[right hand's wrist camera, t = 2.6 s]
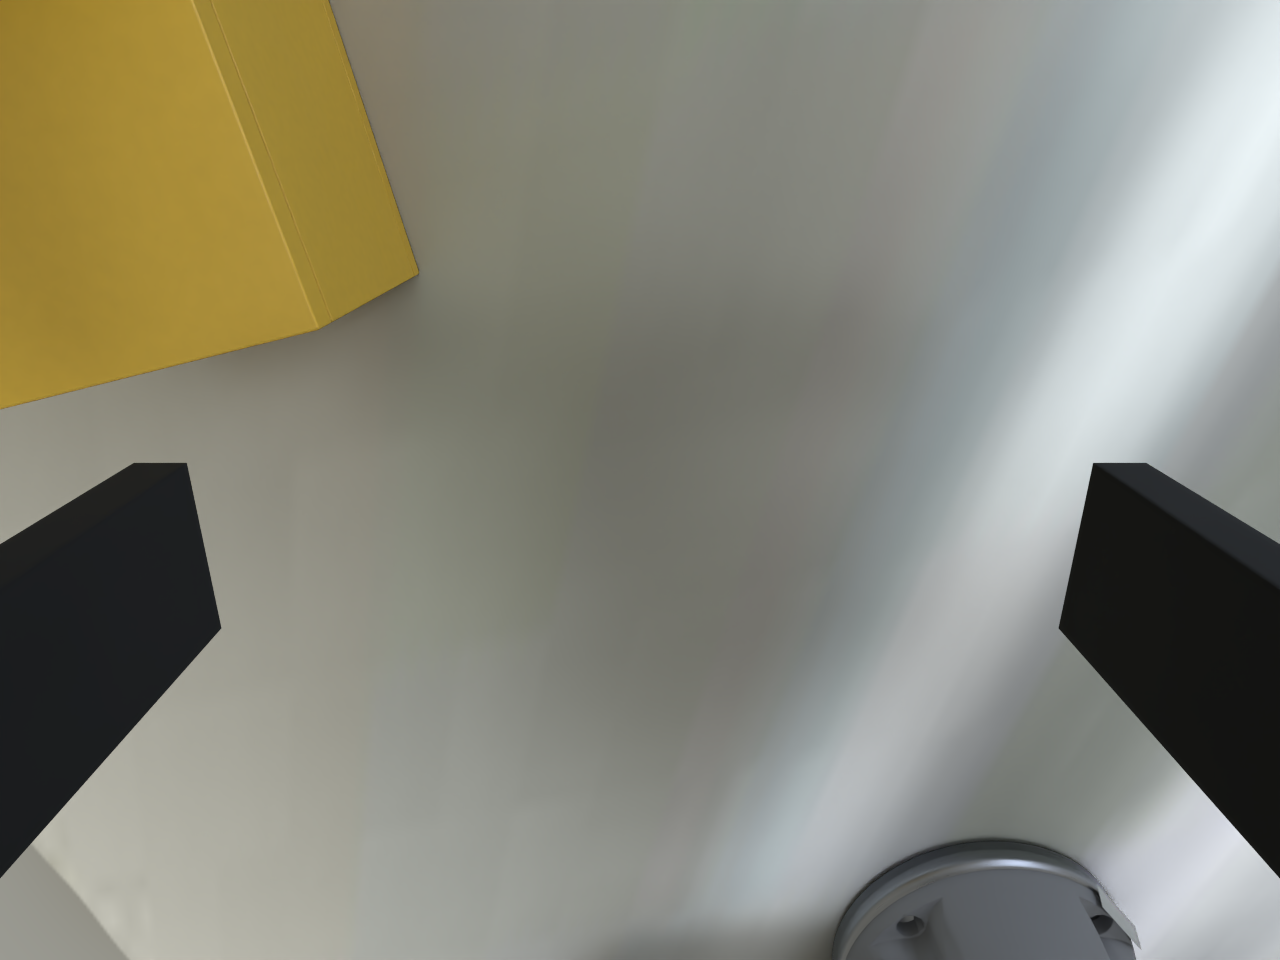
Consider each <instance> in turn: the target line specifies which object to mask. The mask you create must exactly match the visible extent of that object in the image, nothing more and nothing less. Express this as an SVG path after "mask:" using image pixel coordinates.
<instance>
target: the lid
mask: <svg viewBox="0 0 1280 960" xmlns="http://www.w3.org/2000/svg"><path fill="white" fill-rule="evenodd" d="M330 323H331V320H330V317H329V315H328V312H327V309H326V307H325V304H324V301H323V299H322V296H321V293H320V291H319V288H318V286H317V283H316V280H315V278H314V275H313V272H312V270H311V267H310V264H309V262H308V259H307V256H306V254H305V251H304V248H303V246H302V243H301V241H300V238H299V235H298V233H297V230H296V227H295V225H294V222H293V219H292V217H291V214H290V211H289V209H288V206H287V203H286V201H285V198H284V196H283V193H282V190H281V188H280V185H279V182H278V180H277V177H276V174H275V172H274V169H273V166H272V164H271V161H270V159H269V156H268V153H267V151H266V148H265V145H264V143H263V140H262V137H261V135H260V132H259V129H258V127H257V124H256V121H255V119H254V116H253V114H252V111H251V108H250V106H249V103H248V100H247V98H246V95H245V92H244V90H243V87H242V84H241V82H240V79H239V76H238V74H237V71H236V69H235V66H234V63H233V61H232V58H231V55H230V53H229V50H228V47H227V45H226V42H225V39H224V37H223V34H222V32H221V29H220V26H219V24H218V21H217V18H216V16H215V13H214V10H213V8H212V5H211V2H210V0H0V409H4V408H8V407H12V406H16V405H20V404H24V403H28V402H32V401H36V400H40V399H44V398H48V397H52V396H56V395H60V394H64V393H68V392H72V391H76V390H80V389H84V388H88V387H92V386H96V385H100V384H104V383H108V382H112V381H116V380H120V379H124V378H128V377H132V376H136V375H140V374H144V373H148V372H152V371H156V370H160V369H164V368H168V367H172V366H176V365H180V364H184V363H188V362H192V361H196V360H200V359H204V358H208V357H212V356H216V355H220V354H224V353H228V352H232V351H236V350H240V349H244V348H248V347H252V346H256V345H260V344H264V343H268V342H272V341H276V340H280V339H284V338H288V337H292V336H296V335H300V334H304V333H308V332H312V331H316V330H319V329H321V328H322V327H324V326H326V325H328V324H330Z"/></svg>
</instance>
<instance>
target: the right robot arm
mask: <svg viewBox="0 0 1280 960" xmlns="http://www.w3.org/2000/svg"><path fill="white" fill-rule="evenodd" d="M220 629H221V624H220V619H219V615H218V610H217V605H216V600H215V596H214V591H213V586H212V581H211V577H210V572H209V567H208V562H207V557H206V553H205V548H204V543H203V538H202V534H201V529H200V524H199V519H198V515H197V510H196V505H195V500H194V495H193V491H192V486H191V481H190V476H189V472H188V467H187V463H133V464H131V465H130V466H128V467H126V468H125V469H123V470H121V471H120V472H118V473H117V474H115V475H113V476H112V477H110V478H108V479H107V480H105V481H103V482H102V483H100V484H98V485H97V486H95V487H94V488H92V489H90V490H89V491H87V492H85V493H84V494H82V495H80V496H79V497H77V498H75V499H74V500H72V501H71V502H69V503H67V504H66V505H64V506H62V507H61V508H59V509H57V510H56V511H54V512H52V513H51V514H49V515H48V516H46V517H44V518H43V519H41V520H39V521H38V522H36V523H34V524H33V525H31V526H29V527H28V528H26V529H25V530H23V531H21V532H20V533H18V534H16V535H15V536H13V537H11V538H10V539H8V540H6V541H5V542H3V543H2V544H0V878H1V877H2V876H3V874H4V873H5V872H6V871H7V870H8V869H9V868H10V867H11V865H12V864H13V863H14V862H15V861H16V860H17V859H18V858H19V856H20V855H21V854H22V853H23V852H24V851H25V850H26V848H27V847H28V846H29V845H30V844H31V843H32V842H33V841H34V839H35V838H36V837H37V836H38V835H39V834H40V833H41V832H42V830H43V829H44V828H45V827H46V826H47V825H48V824H49V822H50V821H51V820H52V819H53V818H54V817H55V816H56V815H57V813H58V812H59V811H60V810H61V809H62V808H63V807H64V806H65V804H66V803H67V802H68V801H69V800H70V799H71V798H72V796H73V795H74V794H75V793H76V792H77V791H78V790H79V789H80V787H81V786H82V785H83V784H84V783H85V782H86V781H87V780H88V778H89V777H90V776H91V775H92V774H93V773H94V772H95V770H96V769H97V768H98V767H99V766H100V765H101V764H102V763H103V761H104V760H105V759H106V758H107V757H108V756H109V755H110V754H111V752H112V751H113V750H114V749H115V748H116V747H117V746H118V744H119V743H120V742H121V741H122V740H123V739H124V738H125V737H126V735H127V734H128V733H129V732H130V731H131V730H132V729H133V728H134V726H135V725H136V724H137V723H138V722H139V721H140V720H141V718H142V717H143V716H144V715H145V714H146V713H147V712H148V711H149V709H150V708H151V707H152V706H153V705H154V704H155V703H156V702H157V700H158V699H159V698H160V697H161V696H162V695H163V694H164V692H165V691H166V690H167V689H168V688H169V687H170V686H171V685H172V683H173V682H174V681H175V680H176V679H177V678H178V677H179V676H180V674H181V673H182V672H183V671H184V670H185V669H186V668H187V666H188V665H189V664H190V663H191V662H192V661H193V660H194V659H195V657H196V656H197V655H198V654H199V653H200V652H201V651H202V650H203V648H204V647H205V646H206V645H207V644H208V643H209V642H210V640H211V639H212V638H213V637H214V636H215V635H216V634H217V633H218V631H219V630H220ZM1059 629H1060V630H1061V631H1062V633H1063V634H1064V635H1065V636H1066V637H1067V638H1068V639H1069V640H1070V642H1071V643H1072V644H1073V645H1074V646H1075V647H1076V648H1077V650H1078V651H1079V652H1080V653H1081V654H1082V655H1083V656H1084V657H1085V659H1086V660H1087V661H1088V662H1089V663H1090V664H1091V665H1092V666H1093V668H1094V669H1095V670H1096V671H1097V672H1098V673H1099V674H1100V676H1101V677H1102V678H1103V679H1104V680H1105V681H1106V682H1107V683H1108V685H1109V686H1110V687H1111V688H1112V689H1113V690H1114V691H1115V692H1116V694H1117V695H1118V696H1119V697H1120V698H1121V699H1122V700H1123V702H1124V703H1125V704H1126V705H1127V706H1128V707H1129V708H1130V709H1131V711H1132V712H1133V713H1134V714H1135V715H1136V716H1137V717H1138V718H1139V720H1140V721H1141V722H1142V723H1143V724H1144V725H1145V726H1146V728H1147V729H1148V730H1149V731H1150V732H1151V733H1152V734H1153V735H1154V737H1155V738H1156V739H1157V740H1158V741H1159V742H1160V743H1161V744H1162V746H1163V747H1164V748H1165V749H1166V750H1167V751H1168V752H1169V754H1170V755H1171V756H1172V757H1173V758H1174V759H1175V760H1176V761H1177V763H1178V764H1179V765H1180V766H1181V767H1182V768H1183V769H1184V770H1185V772H1186V773H1187V774H1188V775H1189V776H1190V777H1191V778H1192V780H1193V781H1194V782H1195V783H1196V784H1197V785H1198V786H1199V787H1200V789H1201V790H1202V791H1203V792H1204V793H1205V794H1206V795H1207V796H1208V798H1209V799H1210V800H1211V801H1212V802H1213V803H1214V804H1215V806H1216V807H1217V808H1218V809H1219V810H1220V811H1221V812H1222V813H1223V815H1224V816H1225V817H1226V818H1227V819H1228V820H1229V821H1230V822H1231V824H1232V825H1233V826H1234V827H1235V828H1236V829H1237V830H1238V832H1239V833H1240V834H1241V835H1242V836H1243V837H1244V838H1245V839H1246V841H1247V842H1248V843H1249V844H1250V845H1251V846H1252V847H1253V848H1254V850H1255V851H1256V852H1257V853H1258V854H1259V855H1260V856H1261V858H1262V859H1263V860H1264V861H1265V862H1266V863H1267V864H1268V865H1269V867H1270V868H1271V869H1272V870H1273V871H1274V872H1275V873H1276V874H1277V876H1278V877H1279V878H1280V544H1278V543H1277V542H1275V541H1274V540H1272V539H1270V538H1269V537H1267V536H1265V535H1264V534H1262V533H1260V532H1259V531H1257V530H1255V529H1254V528H1252V527H1251V526H1249V525H1247V524H1246V523H1244V522H1242V521H1241V520H1239V519H1237V518H1236V517H1234V516H1232V515H1231V514H1229V513H1228V512H1226V511H1224V510H1223V509H1221V508H1219V507H1218V506H1216V505H1214V504H1213V503H1211V502H1209V501H1208V500H1206V499H1205V498H1203V497H1201V496H1200V495H1198V494H1196V493H1195V492H1193V491H1191V490H1190V489H1188V488H1186V487H1185V486H1183V485H1182V484H1180V483H1178V482H1177V481H1175V480H1173V479H1172V478H1170V477H1168V476H1167V475H1165V474H1163V473H1162V472H1160V471H1158V470H1157V469H1155V468H1154V467H1152V466H1150V465H1149V464H1147V463H1093V467H1092V472H1091V476H1090V481H1089V486H1088V491H1087V495H1086V500H1085V505H1084V510H1083V515H1082V519H1081V524H1080V529H1079V534H1078V538H1077V543H1076V548H1075V553H1074V557H1073V562H1072V567H1071V572H1070V577H1069V581H1068V586H1067V591H1066V596H1065V600H1064V605H1063V610H1062V615H1061V619H1060V624H1059ZM1131 939H1132V940H1133V941H1134V942H1135V944H1136V945H1137V946H1138V947H1139V948H1140V949H1141V947H1140V943H1139V940H1138V936H1137V932H1136V929H1135V926H1134V925H1133V924H1132V923H1131V921H1130V920H1129V919H1128V918H1127V917H1126V916H1125V915H1124V914H1123V913H1122V911H1121V910H1120V909H1119V908H1118V907H1117V906H1116V905H1115V904H1114V902H1113V901H1112V900H1111V899H1110V898H1109V896H1108V895H1107V893H1106V892H1105V890H1104V889H1103V887H1102V886H1101V885H1100V883H1099V882H1098V881H1097V880H1096V879H1095V878H1094V877H1093V875H1092V874H1091V873H1089V872H1088V871H1087V870H1086V869H1084V868H1083V867H1082V866H1081V865H1079V864H1077V863H1076V862H1074V861H1073V860H1071V859H1069V858H1067V857H1065V856H1063V855H1061V854H1059V853H1056V852H1054V851H1051V850H1048V849H1045V848H1041V847H1038V846H1033V845H1028V844H1023V843H1015V842H1000V841H988V842H974V843H965V844H960V845H954V846H949V847H946V848H942V849H938V850H934V851H932V852H929V853H926V854H923V855H920V856H918V857H916V858H913V859H911V860H909V861H907V862H905V863H903V864H901V865H899V866H897V867H895V868H894V869H892V870H891V871H889V872H887V873H886V874H884V875H883V876H881V877H880V878H879V879H878V880H876V881H875V882H874V883H872V884H871V885H870V886H869V887H868V888H867V889H866V890H865V891H863V893H862V894H861V895H860V896H859V897H858V898H857V899H856V900H855V901H854V903H853V904H852V905H851V907H850V908H849V909H848V911H847V912H846V914H845V916H844V917H843V919H842V921H841V923H840V926H839V928H838V930H837V933H836V936H835V940H834V945H833V952H832V960H1136V957H1135V953H1134V949H1133V945H1132V942H1131Z"/></svg>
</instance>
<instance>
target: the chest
mask: <svg viewBox="0 0 1280 960" xmlns="http://www.w3.org/2000/svg"><path fill="white" fill-rule="evenodd" d="M210 2H211V5H212V8H213V10H214V13H215V16H216V18H217V21H218V24H219V26H220V29H221V32H222V34H223V37H224V39H225V42H226V45H227V47H228V50H229V53H230V55H231V58H232V61H233V63H234V66H235V69H236V71H237V74H238V76H239V79H240V82H241V84H242V87H243V90H244V92H245V95H246V98H247V100H248V103H249V106H250V108H251V111H252V114H253V116H254V119H255V121H256V124H257V127H258V129H259V132H260V135H261V137H262V140H263V143H264V145H265V148H266V151H267V153H268V156H269V159H270V161H271V164H272V166H273V169H274V172H275V174H276V177H277V180H278V182H279V185H280V188H281V190H282V193H283V196H284V198H285V201H286V203H287V206H288V209H289V211H290V214H291V217H292V219H293V222H294V225H295V227H296V230H297V233H298V235H299V238H300V241H301V243H302V246H303V248H304V251H305V254H306V256H307V259H308V262H309V264H310V267H311V270H312V272H313V275H314V278H315V280H316V283H317V286H318V288H319V291H320V293H321V296H322V299H323V301H324V304H325V307H326V309H327V312H328V315H329V317H330V320H331V322H333V321H335V320H337V319H339V318H340V317H342V316H344V315H346V314H348V313H349V312H351V311H353V310H355V309H357V308H358V307H360V306H362V305H364V304H366V303H367V302H369V301H371V300H373V299H375V298H376V297H378V296H380V295H382V294H383V293H385V292H387V291H389V290H391V289H392V288H394V287H396V286H398V285H400V284H401V283H403V282H405V281H407V280H409V279H410V278H412V277H414V276H416V275H418V274H419V271H418V268H417V265H416V262H415V259H414V256H413V253H412V250H411V247H410V244H409V241H408V238H407V235H406V232H405V229H404V226H403V223H402V220H401V217H400V214H399V211H398V208H397V205H396V202H395V199H394V196H393V193H392V190H391V187H390V184H389V181H388V178H387V175H386V172H385V169H384V166H383V163H382V160H381V157H380V154H379V151H378V148H377V145H376V142H375V139H374V136H373V133H372V130H371V127H370V124H369V121H368V118H367V115H366V112H365V109H364V105H363V102H362V99H361V96H360V93H359V90H358V87H357V84H356V81H355V78H354V75H353V72H352V69H351V66H350V63H349V60H348V57H347V54H346V51H345V48H344V45H343V42H342V39H341V36H340V33H339V30H338V27H337V24H336V21H335V18H334V15H333V12H332V9H331V6H330V3H329V0H210Z"/></svg>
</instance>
